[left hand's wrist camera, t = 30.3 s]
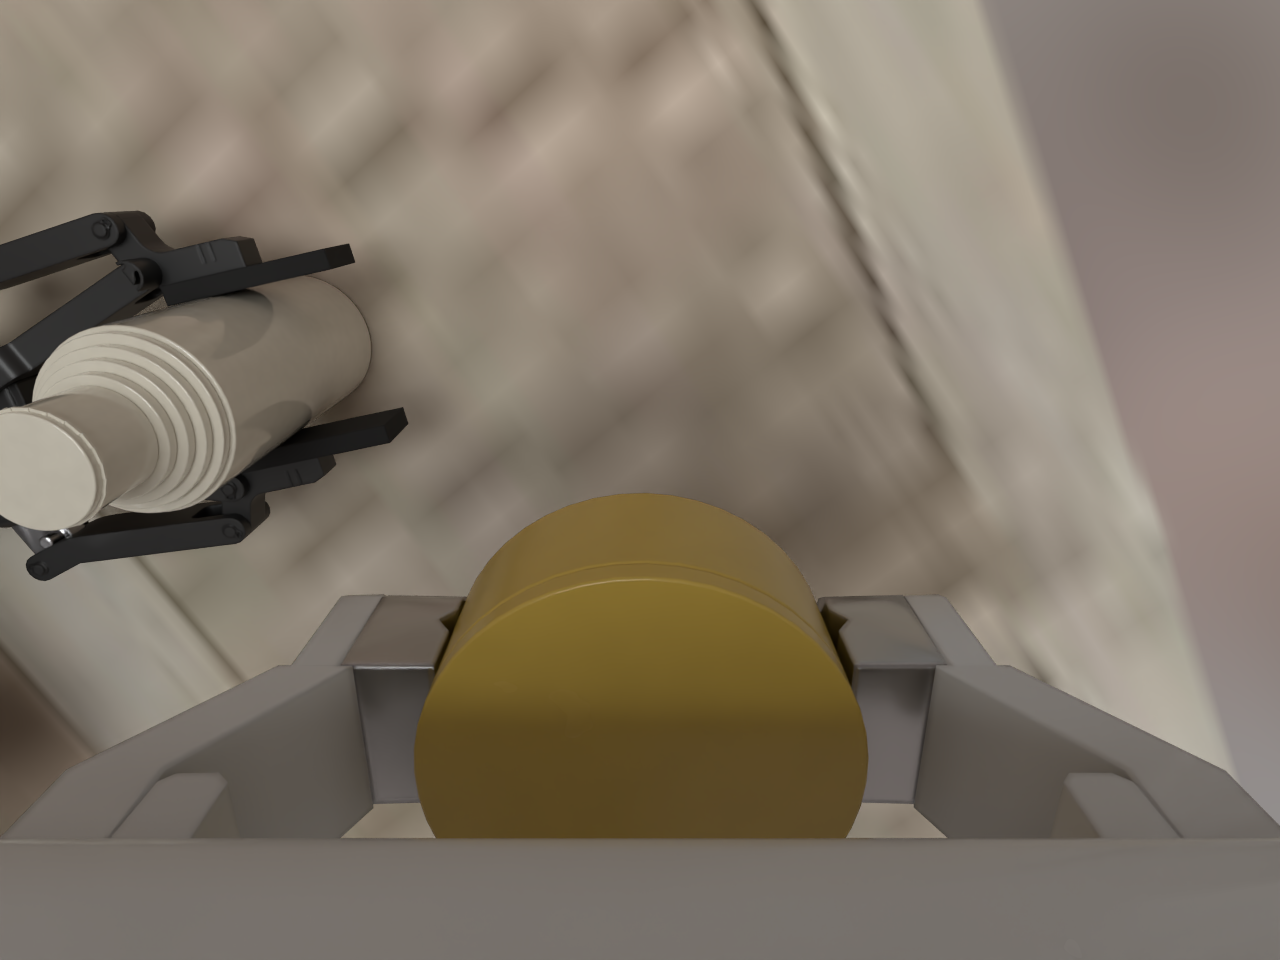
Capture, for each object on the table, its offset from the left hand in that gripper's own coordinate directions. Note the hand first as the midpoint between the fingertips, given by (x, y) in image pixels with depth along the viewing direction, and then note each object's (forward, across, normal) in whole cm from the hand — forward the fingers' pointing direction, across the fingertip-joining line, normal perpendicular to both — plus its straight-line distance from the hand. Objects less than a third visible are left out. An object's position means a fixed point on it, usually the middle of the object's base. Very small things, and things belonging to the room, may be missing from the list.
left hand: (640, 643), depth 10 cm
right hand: (+23, +11, +1) cm, 26 cm away
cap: (-2, 0, 0) cm, 2 cm away
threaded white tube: (+29, +16, +2) cm, 33 cm away
